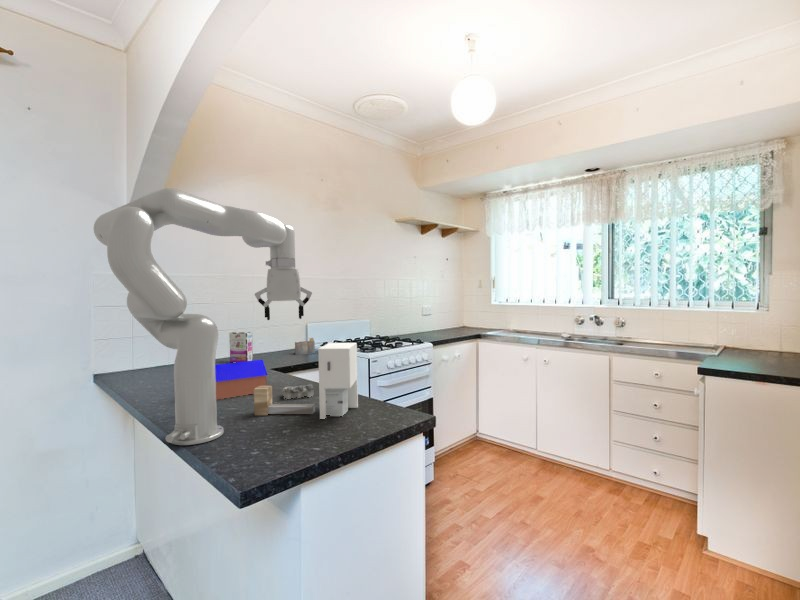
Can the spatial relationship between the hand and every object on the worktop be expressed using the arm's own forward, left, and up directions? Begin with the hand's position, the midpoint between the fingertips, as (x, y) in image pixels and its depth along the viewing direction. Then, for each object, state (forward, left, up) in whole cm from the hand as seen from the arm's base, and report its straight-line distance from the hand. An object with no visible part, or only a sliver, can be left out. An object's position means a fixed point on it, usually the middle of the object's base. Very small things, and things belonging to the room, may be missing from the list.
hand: (284, 319), depth 126 cm
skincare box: (-5, -17, -29) cm, 34 cm away
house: (+20, +26, -29) cm, 43 cm away
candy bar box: (+85, +54, -29) cm, 105 cm away
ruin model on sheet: (+114, +28, -29) cm, 121 cm away
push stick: (-5, -1, -29) cm, 29 cm away
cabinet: (-4, -18, -29) cm, 34 cm away
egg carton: (+15, +1, -29) cm, 33 cm away
